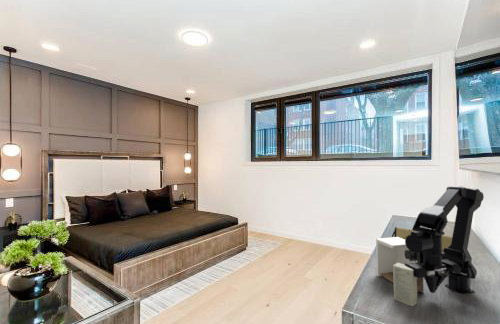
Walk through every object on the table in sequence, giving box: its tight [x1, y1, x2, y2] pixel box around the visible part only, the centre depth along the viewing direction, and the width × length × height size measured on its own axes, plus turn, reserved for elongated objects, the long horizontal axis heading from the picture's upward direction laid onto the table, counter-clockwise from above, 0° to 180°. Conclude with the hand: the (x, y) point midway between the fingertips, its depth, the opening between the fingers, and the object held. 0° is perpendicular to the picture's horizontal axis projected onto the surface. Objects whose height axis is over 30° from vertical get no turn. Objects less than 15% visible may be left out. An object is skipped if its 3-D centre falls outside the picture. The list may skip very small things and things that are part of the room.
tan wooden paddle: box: [381, 272, 424, 293], centre depth 98 cm, size 8×15×5 cm, turn 13°
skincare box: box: [392, 262, 419, 307], centre depth 86 cm, size 6×4×12 cm
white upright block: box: [375, 236, 417, 277], centre depth 102 cm, size 11×9×16 cm
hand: (432, 292), depth 86 cm, fingers closed
